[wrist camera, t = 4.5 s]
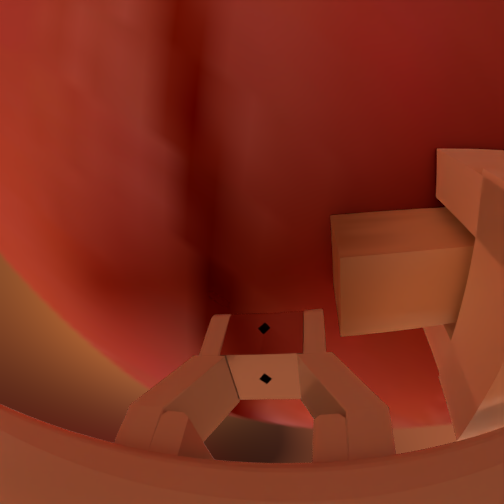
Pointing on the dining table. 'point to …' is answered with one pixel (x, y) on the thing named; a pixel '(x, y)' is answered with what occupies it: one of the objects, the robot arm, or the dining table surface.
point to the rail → (399, 269)
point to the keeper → (474, 293)
